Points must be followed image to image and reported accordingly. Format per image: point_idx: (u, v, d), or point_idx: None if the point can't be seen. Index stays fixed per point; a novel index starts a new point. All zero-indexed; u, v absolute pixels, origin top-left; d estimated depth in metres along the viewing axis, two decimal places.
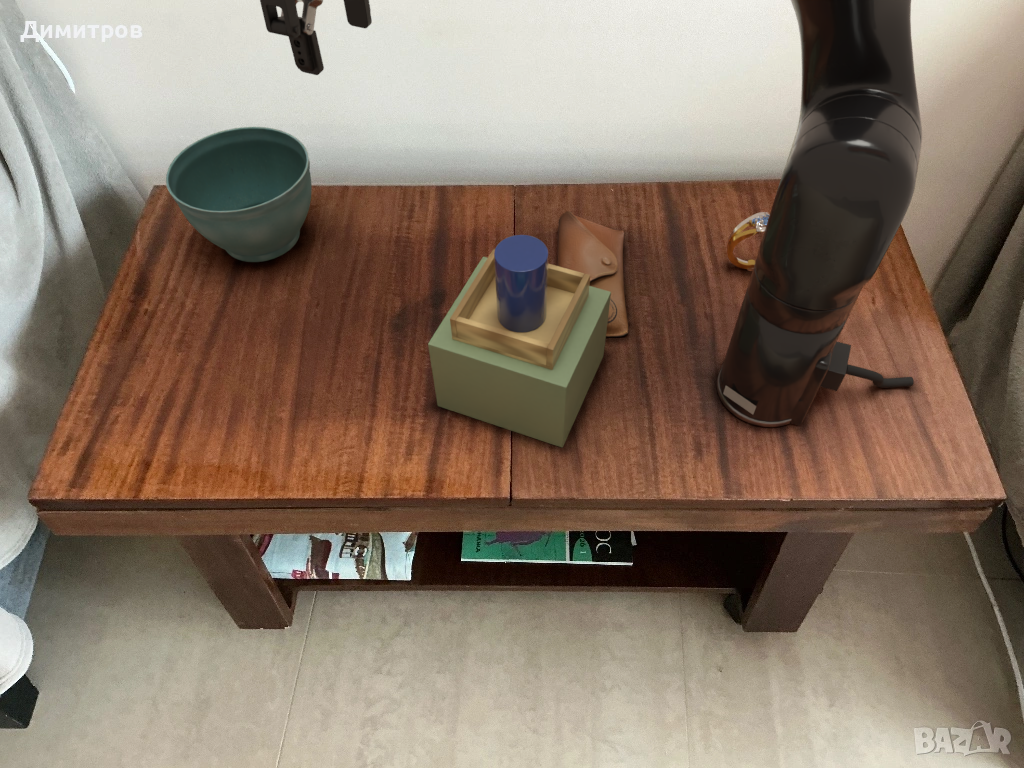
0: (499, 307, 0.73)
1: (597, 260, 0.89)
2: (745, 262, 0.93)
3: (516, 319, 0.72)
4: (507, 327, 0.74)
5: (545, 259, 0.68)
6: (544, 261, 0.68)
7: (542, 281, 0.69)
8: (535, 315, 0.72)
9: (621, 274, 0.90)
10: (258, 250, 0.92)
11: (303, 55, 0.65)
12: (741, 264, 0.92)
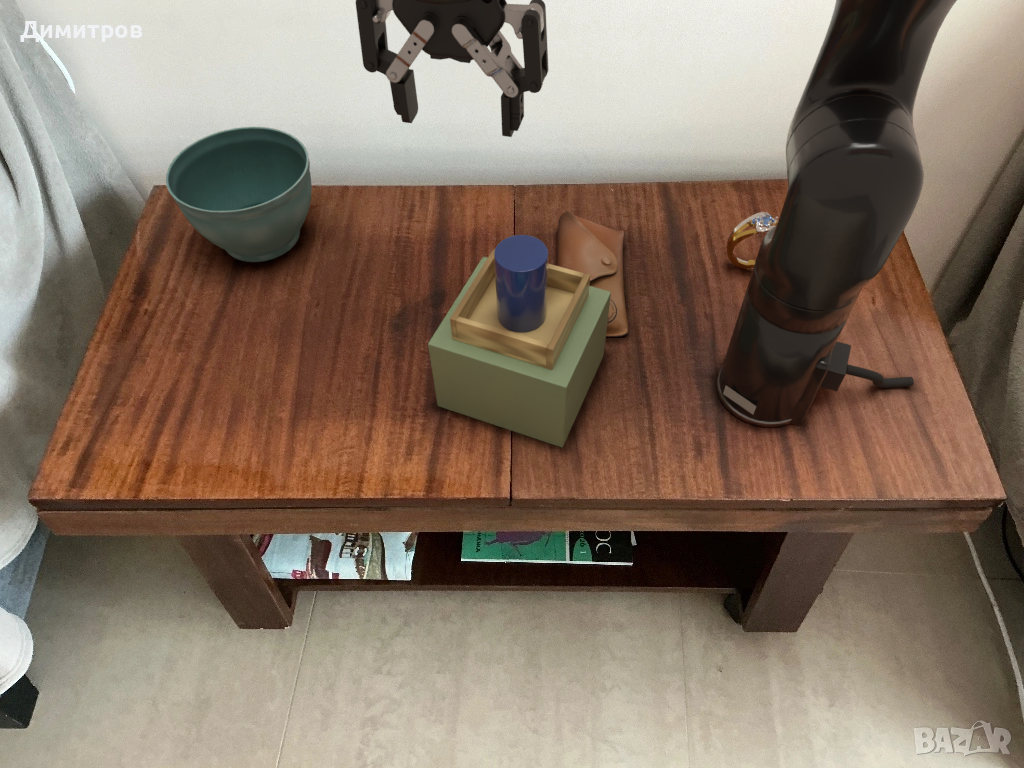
0: (499, 307, 0.73)
1: (597, 260, 0.89)
2: (745, 262, 0.93)
3: (516, 319, 0.72)
4: (507, 327, 0.74)
5: (545, 259, 0.68)
6: (544, 261, 0.68)
7: (542, 281, 0.69)
8: (535, 315, 0.72)
9: (621, 274, 0.90)
10: (258, 250, 0.92)
11: (393, 96, 0.63)
12: (741, 264, 0.92)
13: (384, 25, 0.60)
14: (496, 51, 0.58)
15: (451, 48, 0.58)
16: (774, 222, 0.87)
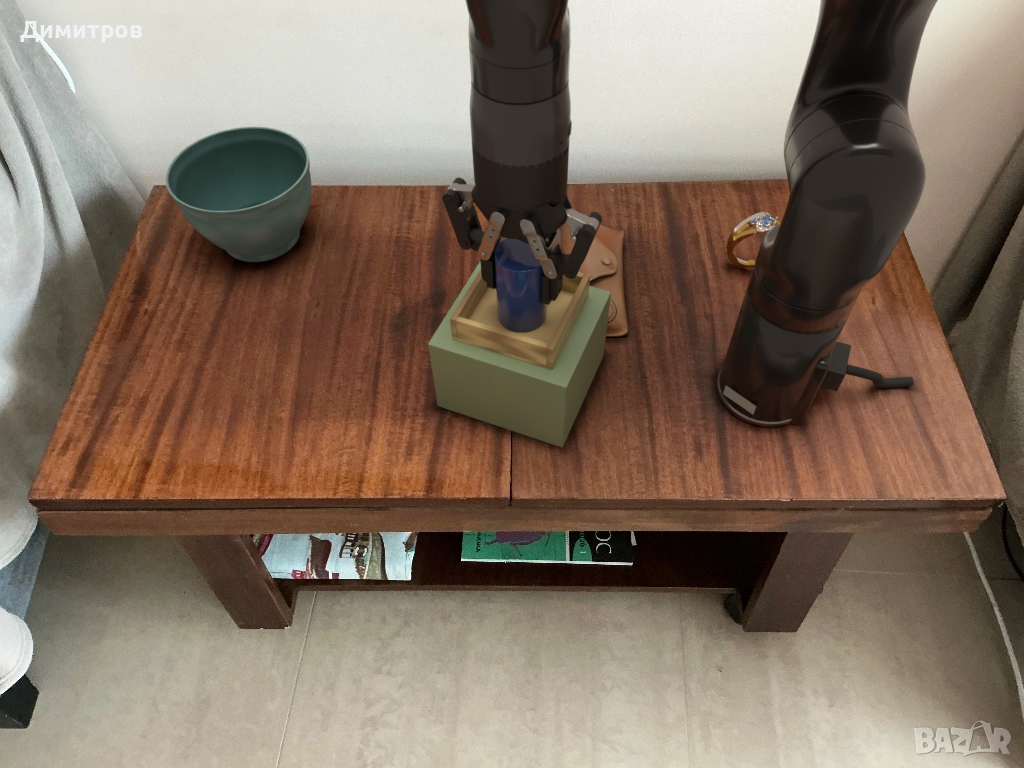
0: (499, 307, 0.73)
1: (597, 260, 0.89)
2: (745, 262, 0.93)
3: (516, 319, 0.72)
4: (507, 327, 0.74)
5: None
6: None
7: None
8: (535, 315, 0.72)
9: (621, 274, 0.90)
10: (258, 250, 0.92)
11: None
12: (741, 264, 0.92)
13: (473, 210, 0.68)
14: (549, 238, 0.67)
15: (518, 232, 0.66)
16: (774, 222, 0.87)
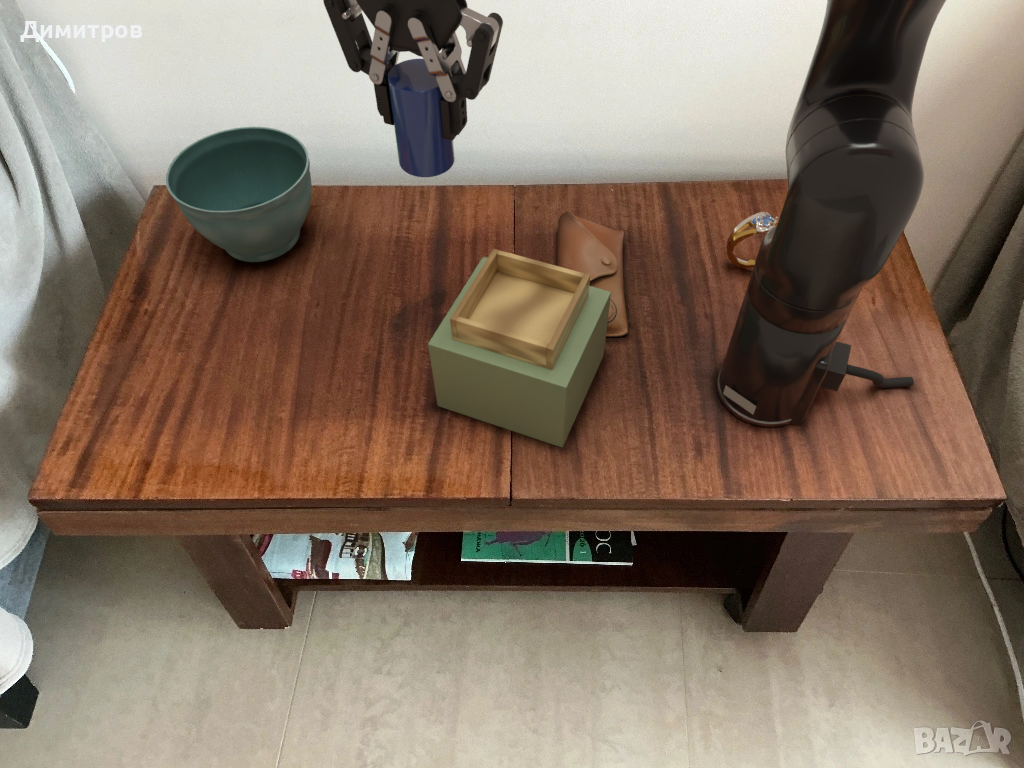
0: (398, 146, 0.65)
1: (597, 260, 0.89)
2: (745, 262, 0.93)
3: (417, 159, 0.64)
4: (409, 171, 0.66)
5: None
6: None
7: None
8: (438, 154, 0.64)
9: (621, 274, 0.90)
10: (258, 250, 0.92)
11: (377, 97, 0.63)
12: (741, 264, 0.92)
13: (363, 24, 0.60)
14: (446, 52, 0.59)
15: (410, 41, 0.57)
16: (774, 222, 0.87)
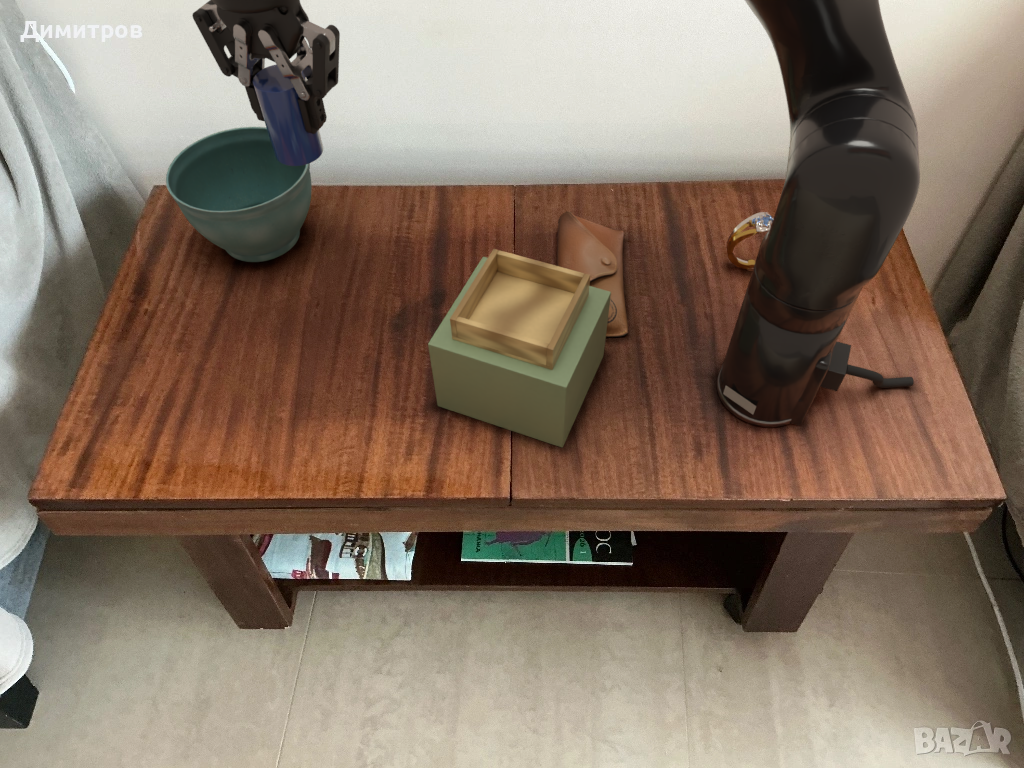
0: (270, 139, 0.75)
1: (597, 260, 0.89)
2: (745, 262, 0.93)
3: (285, 150, 0.75)
4: (281, 161, 0.76)
5: None
6: None
7: None
8: (303, 146, 0.75)
9: (621, 274, 0.90)
10: (258, 250, 0.92)
11: (250, 97, 0.74)
12: (741, 264, 0.92)
13: (231, 35, 0.71)
14: (299, 59, 0.69)
15: (265, 50, 0.68)
16: None
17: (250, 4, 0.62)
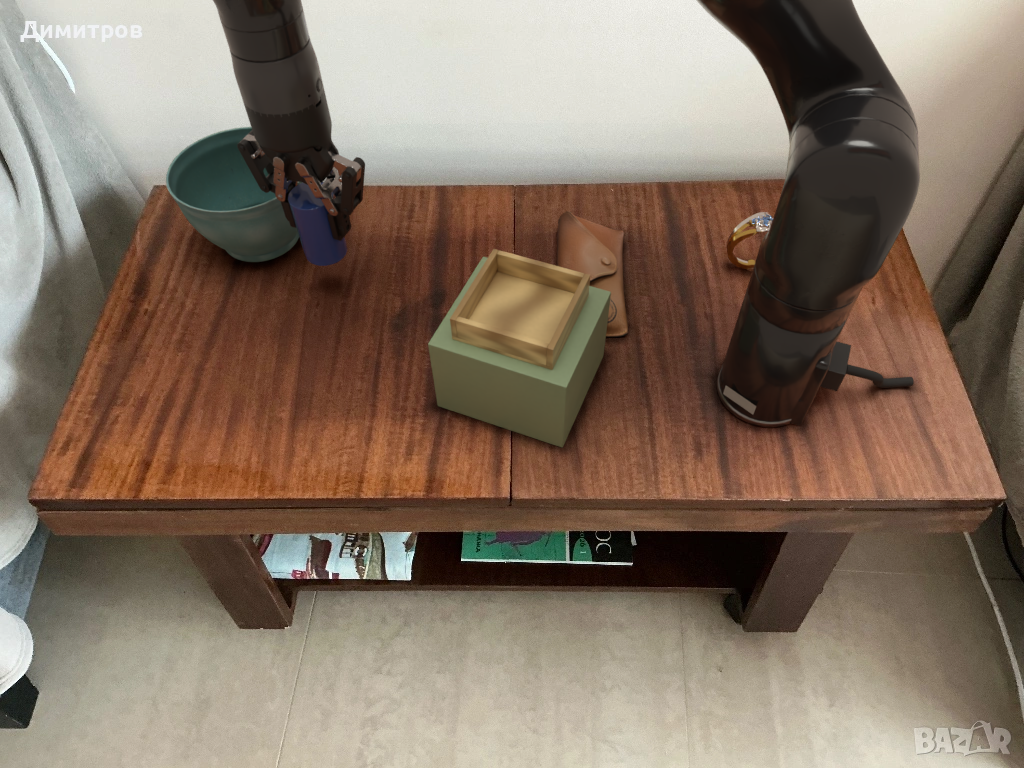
0: (301, 243, 0.86)
1: (597, 260, 0.89)
2: (745, 262, 0.93)
3: (315, 254, 0.85)
4: (310, 261, 0.87)
5: None
6: None
7: None
8: (331, 250, 0.85)
9: (621, 274, 0.90)
10: (258, 250, 0.92)
11: (284, 208, 0.85)
12: (741, 264, 0.92)
13: (269, 158, 0.81)
14: (329, 181, 0.80)
15: (300, 175, 0.79)
16: None
17: (290, 146, 0.73)
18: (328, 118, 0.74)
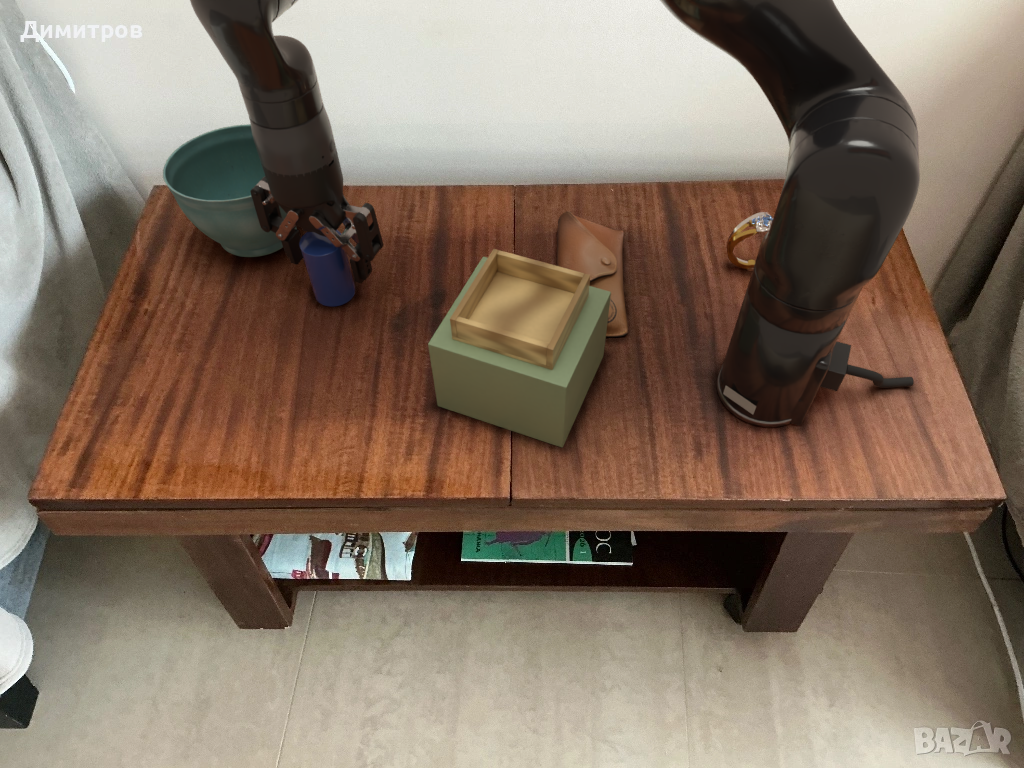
0: (312, 285, 0.89)
1: (597, 260, 0.89)
2: (745, 262, 0.93)
3: (325, 296, 0.89)
4: (320, 302, 0.91)
5: None
6: None
7: (339, 263, 0.86)
8: (340, 292, 0.89)
9: (621, 274, 0.90)
10: (252, 244, 0.91)
11: (284, 246, 0.89)
12: (741, 264, 0.92)
13: (276, 202, 0.86)
14: (346, 230, 0.84)
15: (313, 227, 0.83)
16: None
17: (305, 203, 0.77)
18: (340, 175, 0.79)
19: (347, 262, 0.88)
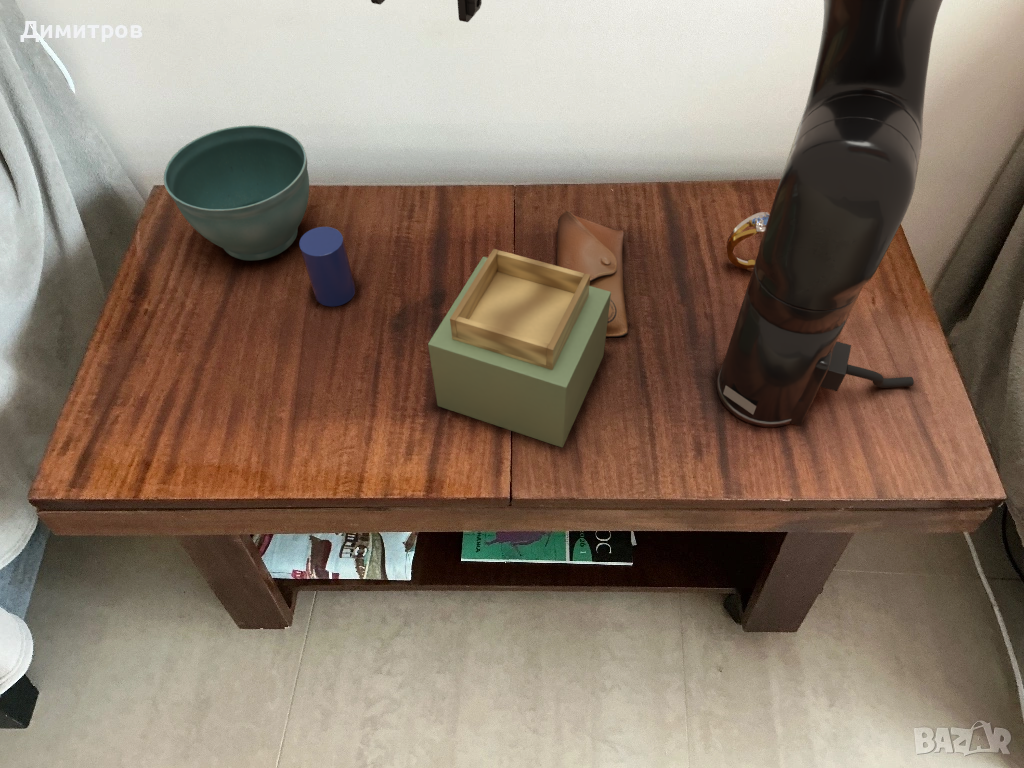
0: (312, 285, 0.89)
1: (597, 260, 0.89)
2: (745, 262, 0.93)
3: (325, 296, 0.89)
4: (320, 302, 0.91)
5: (339, 246, 0.85)
6: (338, 247, 0.85)
7: (339, 263, 0.86)
8: (340, 292, 0.89)
9: (620, 274, 0.90)
10: (255, 249, 0.92)
11: None
12: (741, 264, 0.92)
13: None
14: None
15: None
16: None
17: None
18: None
19: (347, 262, 0.88)
